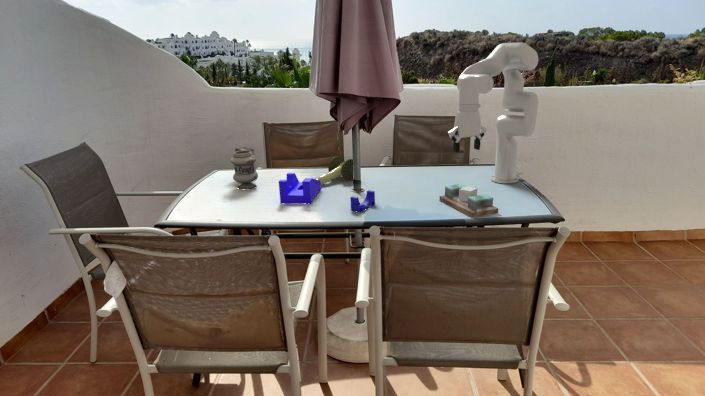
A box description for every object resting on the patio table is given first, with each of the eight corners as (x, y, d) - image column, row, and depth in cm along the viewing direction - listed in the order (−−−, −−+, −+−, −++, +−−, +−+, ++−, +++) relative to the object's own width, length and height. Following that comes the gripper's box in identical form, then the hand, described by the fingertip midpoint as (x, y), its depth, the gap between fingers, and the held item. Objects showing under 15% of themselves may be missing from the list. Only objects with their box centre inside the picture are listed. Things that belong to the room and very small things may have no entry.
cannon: (323, 189, 223) (322, 166, 220) (308, 184, 232) (306, 162, 228) (361, 178, 239) (360, 157, 236) (345, 174, 248) (344, 154, 244)
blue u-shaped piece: (359, 213, 189) (358, 198, 187) (351, 210, 192) (350, 197, 190) (377, 205, 198) (377, 191, 196) (369, 203, 201) (369, 190, 199)
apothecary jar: (233, 185, 235) (229, 150, 229) (257, 182, 238) (253, 148, 233) (235, 192, 224) (231, 155, 218) (260, 189, 227) (256, 152, 222)
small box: (464, 197, 195) (465, 185, 193) (477, 199, 191) (478, 188, 190) (458, 200, 191) (458, 189, 189) (470, 203, 187) (471, 191, 186)
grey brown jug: (237, 178, 248) (234, 148, 243) (248, 175, 252) (245, 146, 247) (246, 181, 242) (243, 150, 237) (257, 178, 246) (254, 148, 241)
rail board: (463, 196, 204) (463, 182, 202) (498, 213, 183) (499, 197, 181) (439, 200, 200) (439, 186, 198) (472, 217, 179) (472, 202, 177)
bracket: (310, 204, 202) (309, 181, 199) (280, 204, 204) (278, 181, 201) (321, 190, 222) (319, 169, 219) (293, 190, 224) (291, 169, 221)
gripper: (481, 105, 191) (479, 146, 196) (444, 108, 185) (443, 151, 190) (492, 107, 184) (490, 150, 189) (454, 110, 179) (453, 154, 184)
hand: (466, 150), depth 190 cm, fingers open, 9 cm apart
